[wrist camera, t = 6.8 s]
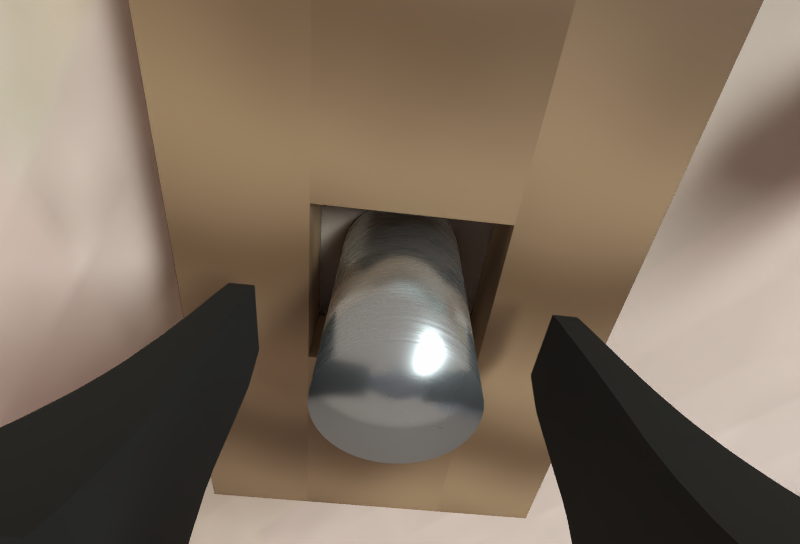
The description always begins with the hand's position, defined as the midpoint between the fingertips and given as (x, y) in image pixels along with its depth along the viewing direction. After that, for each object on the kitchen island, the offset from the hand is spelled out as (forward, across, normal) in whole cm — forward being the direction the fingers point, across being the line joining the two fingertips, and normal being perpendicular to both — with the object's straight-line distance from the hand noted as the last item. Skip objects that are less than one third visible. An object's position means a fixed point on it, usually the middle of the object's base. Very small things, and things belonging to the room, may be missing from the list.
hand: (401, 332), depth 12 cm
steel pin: (+3, 0, 0) cm, 4 cm away
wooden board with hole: (+3, 0, 0) cm, 3 cm away
